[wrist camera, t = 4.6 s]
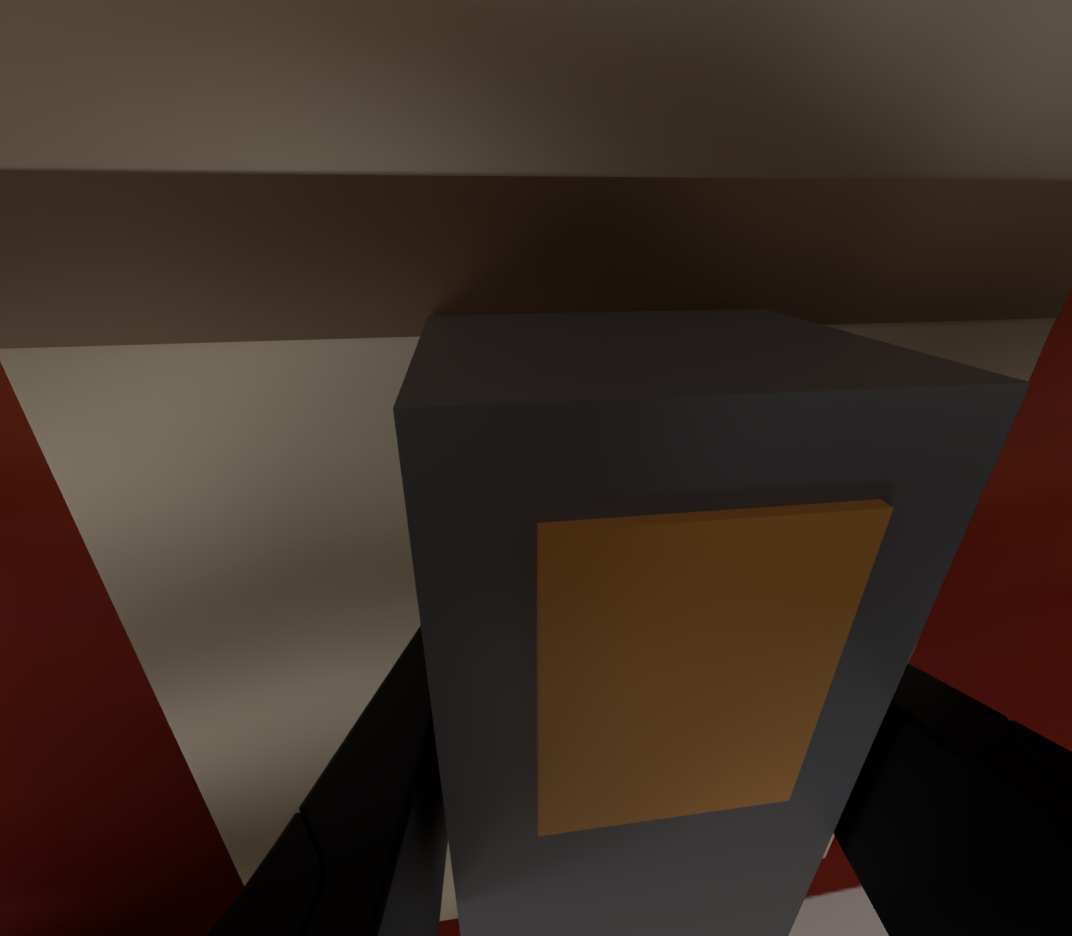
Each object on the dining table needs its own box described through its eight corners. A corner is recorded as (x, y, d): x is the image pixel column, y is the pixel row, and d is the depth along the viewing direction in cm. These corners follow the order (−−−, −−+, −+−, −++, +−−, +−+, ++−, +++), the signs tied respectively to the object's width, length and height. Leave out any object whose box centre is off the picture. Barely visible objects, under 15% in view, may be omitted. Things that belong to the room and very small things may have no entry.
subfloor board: (795, 807, 17) (825, 859, 15) (290, 883, 15) (273, 950, 13) (1129, -130, 7) (1286, -214, 6) (-153, -248, 5) (-367, -415, 4)
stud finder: (680, 746, 12) (778, 979, 8) (469, 772, 11) (472, 1037, 8) (764, 308, 8) (1049, 388, 4) (428, 315, 7) (390, 416, 3)
